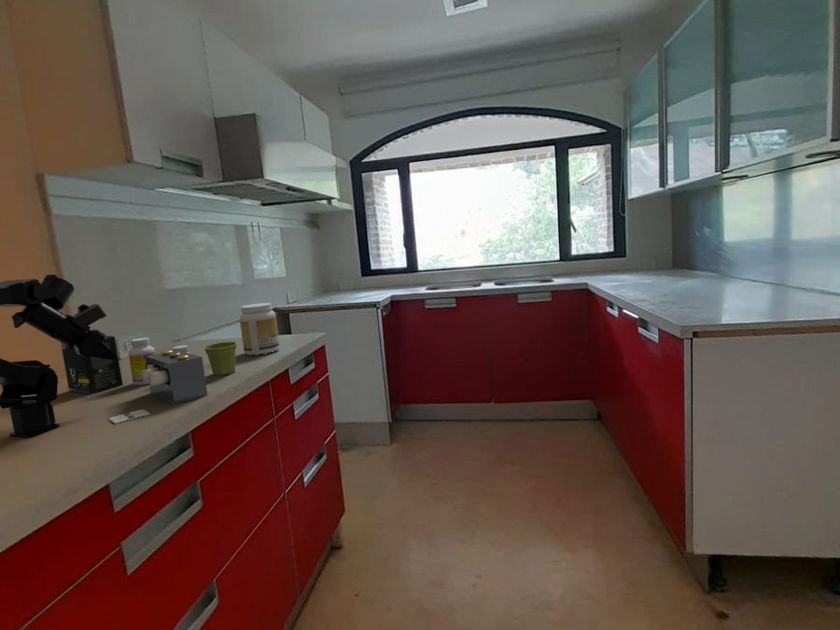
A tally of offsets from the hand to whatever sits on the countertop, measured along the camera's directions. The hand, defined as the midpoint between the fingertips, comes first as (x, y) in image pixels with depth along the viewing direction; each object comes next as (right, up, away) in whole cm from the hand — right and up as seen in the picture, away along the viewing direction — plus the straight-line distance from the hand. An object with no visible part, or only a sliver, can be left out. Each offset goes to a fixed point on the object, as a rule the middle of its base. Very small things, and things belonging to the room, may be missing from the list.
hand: (115, 358), depth 121 cm
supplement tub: (+20, -3, +52) cm, 55 cm away
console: (+13, -10, +6) cm, 17 cm away
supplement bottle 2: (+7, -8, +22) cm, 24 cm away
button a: (+12, -6, -3) cm, 14 cm away
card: (+10, -12, -10) cm, 19 cm away
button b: (+8, -6, +1) cm, 10 cm away
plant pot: (+17, -7, +25) cm, 31 cm away
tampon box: (-17, -10, +18) cm, 27 cm away
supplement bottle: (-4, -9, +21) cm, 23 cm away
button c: (+7, -5, +7) cm, 11 cm away
